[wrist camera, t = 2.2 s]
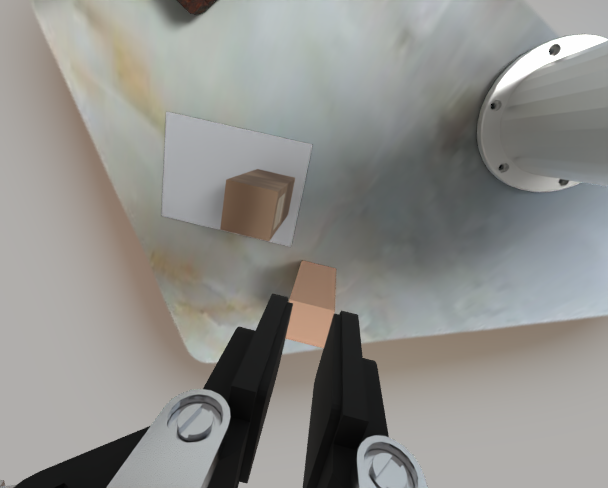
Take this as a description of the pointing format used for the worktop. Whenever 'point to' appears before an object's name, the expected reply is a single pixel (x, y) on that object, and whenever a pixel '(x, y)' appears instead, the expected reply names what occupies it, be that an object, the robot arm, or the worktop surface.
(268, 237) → the brown cardboard box
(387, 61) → the worktop surface
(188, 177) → the mat
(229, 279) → the worktop surface
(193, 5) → the brick
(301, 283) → the terracotta block
